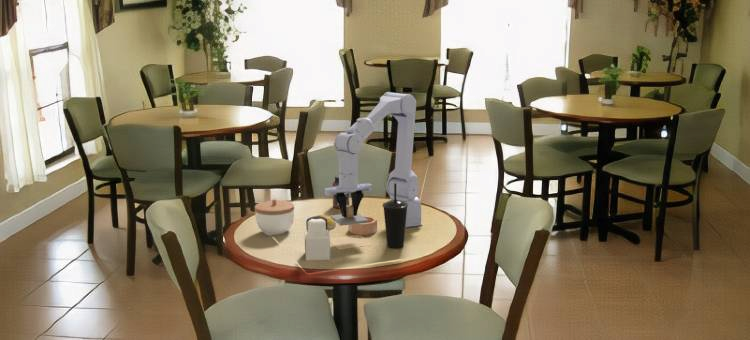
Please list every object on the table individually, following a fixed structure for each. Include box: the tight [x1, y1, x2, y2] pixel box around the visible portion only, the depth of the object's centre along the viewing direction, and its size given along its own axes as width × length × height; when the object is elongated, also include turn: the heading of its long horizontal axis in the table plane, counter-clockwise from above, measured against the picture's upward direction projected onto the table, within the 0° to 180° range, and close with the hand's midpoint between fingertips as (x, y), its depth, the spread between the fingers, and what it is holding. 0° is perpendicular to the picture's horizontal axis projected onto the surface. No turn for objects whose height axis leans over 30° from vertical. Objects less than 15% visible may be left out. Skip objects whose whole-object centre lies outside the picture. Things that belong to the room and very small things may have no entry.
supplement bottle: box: [332, 174, 350, 209], centre depth 276 cm, size 6×6×11 cm
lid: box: [329, 204, 368, 227], centre depth 235 cm, size 9×9×4 cm
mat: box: [330, 234, 373, 251], centre depth 237 cm, size 11×11×1 cm
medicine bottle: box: [304, 215, 331, 261], centre depth 224 cm, size 7×7×12 cm
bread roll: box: [317, 214, 337, 231], centre depth 253 cm, size 8×9×4 cm
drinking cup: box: [382, 183, 408, 250], centre depth 231 cm, size 8×8×20 cm
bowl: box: [347, 215, 378, 236], centre depth 248 cm, size 9×9×4 cm
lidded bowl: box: [254, 198, 295, 237], centre depth 247 cm, size 13×13×11 cm
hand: (349, 215), depth 235 cm, fingers closed on lid, 3 cm apart
